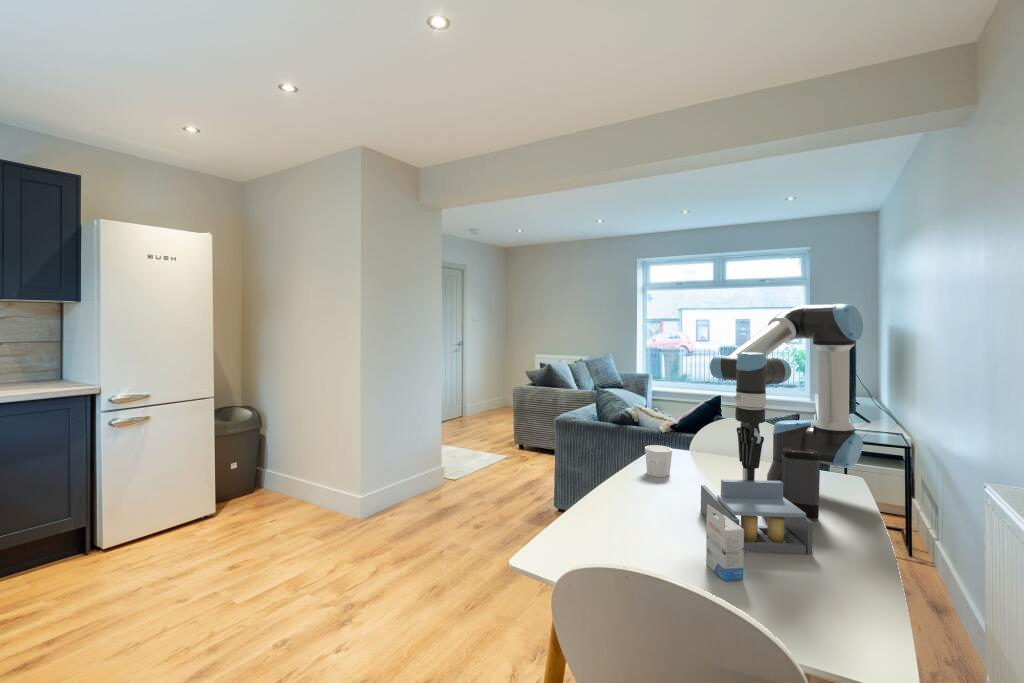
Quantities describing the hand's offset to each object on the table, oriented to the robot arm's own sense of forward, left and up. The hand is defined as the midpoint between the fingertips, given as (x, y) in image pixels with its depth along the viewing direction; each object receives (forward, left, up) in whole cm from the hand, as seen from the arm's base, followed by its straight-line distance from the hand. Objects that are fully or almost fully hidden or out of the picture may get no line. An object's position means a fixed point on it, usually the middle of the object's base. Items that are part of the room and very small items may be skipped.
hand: (748, 490), depth 137 cm
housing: (0, +2, -11) cm, 11 cm away
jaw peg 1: (+3, +9, -11) cm, 15 cm away
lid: (0, +7, -2) cm, 7 cm away
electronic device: (-19, -10, -11) cm, 24 cm away
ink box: (+16, +25, -11) cm, 32 cm away
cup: (+14, -49, -11) cm, 52 cm away
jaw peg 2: (-4, +9, -11) cm, 15 cm away
